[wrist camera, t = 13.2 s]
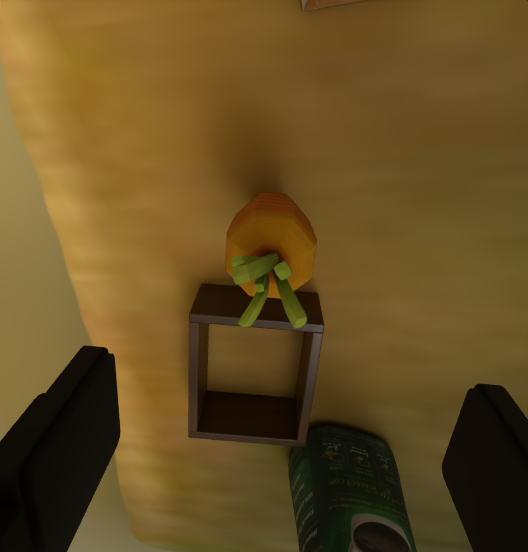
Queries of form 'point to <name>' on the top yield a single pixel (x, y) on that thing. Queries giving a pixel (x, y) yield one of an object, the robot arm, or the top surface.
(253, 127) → the top surface
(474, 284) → the top surface
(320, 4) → the small box
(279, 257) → the carrot
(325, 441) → the coffee jar
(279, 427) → the pen box
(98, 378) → the robot arm
